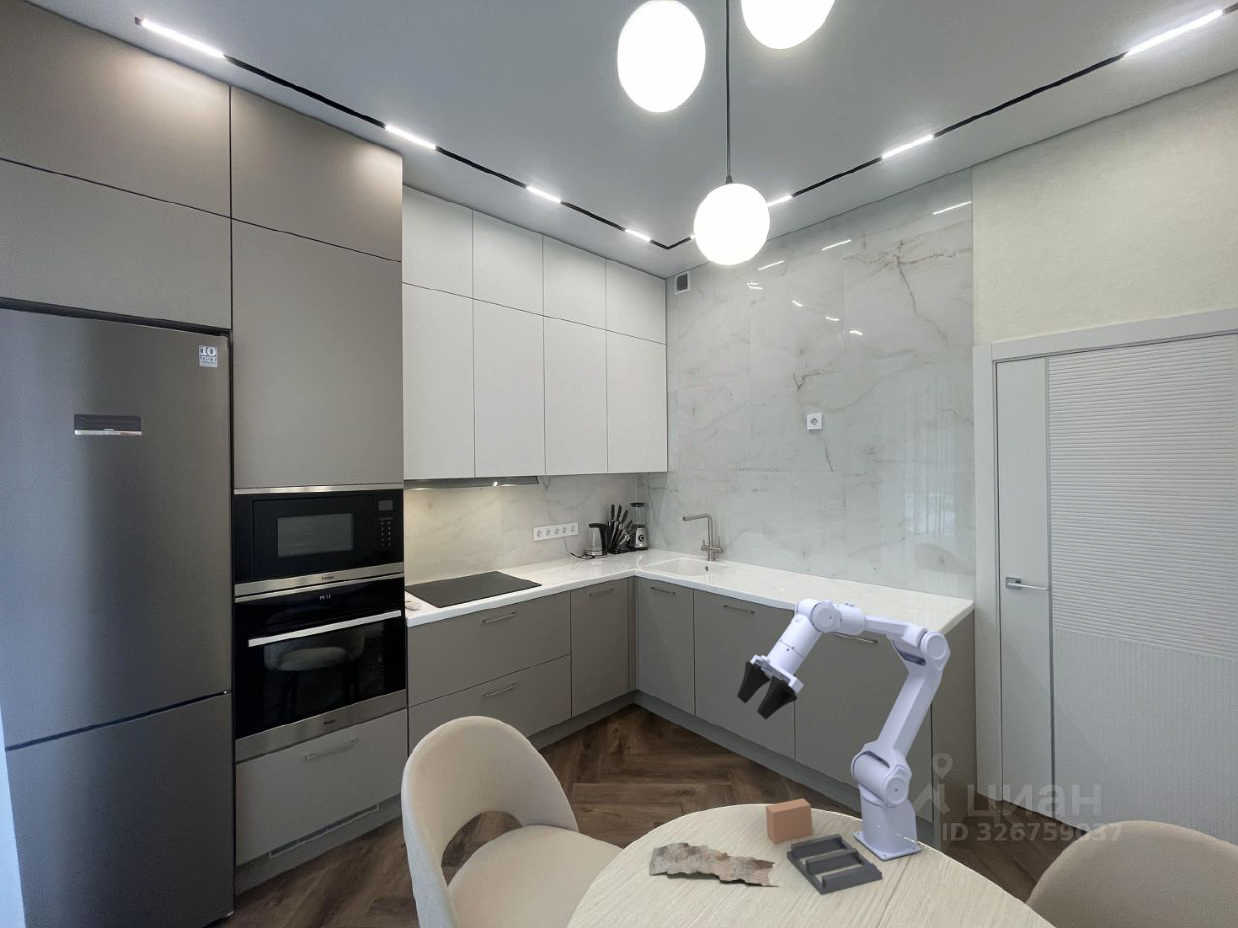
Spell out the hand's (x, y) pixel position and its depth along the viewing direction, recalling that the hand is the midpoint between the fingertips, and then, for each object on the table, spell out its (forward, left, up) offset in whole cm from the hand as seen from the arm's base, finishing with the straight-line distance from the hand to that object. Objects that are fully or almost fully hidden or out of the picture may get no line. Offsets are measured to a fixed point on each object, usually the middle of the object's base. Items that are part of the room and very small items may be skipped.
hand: (750, 707), depth 96 cm
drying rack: (-13, +4, -29) cm, 32 cm away
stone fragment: (+8, -2, -30) cm, 31 cm away
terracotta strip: (-11, -6, -29) cm, 32 cm away
